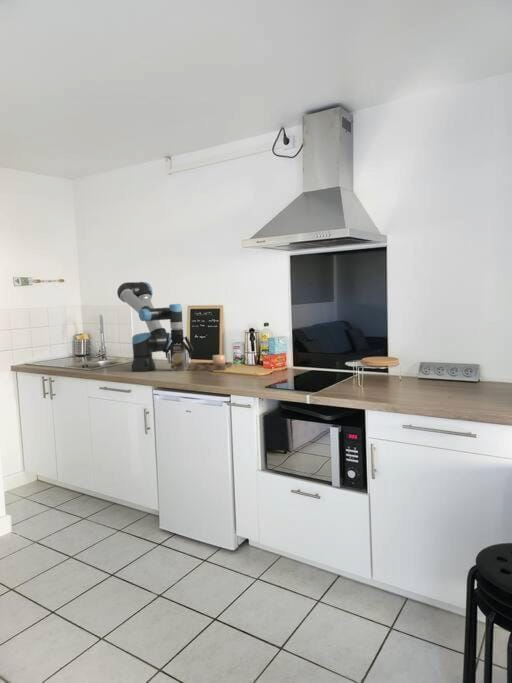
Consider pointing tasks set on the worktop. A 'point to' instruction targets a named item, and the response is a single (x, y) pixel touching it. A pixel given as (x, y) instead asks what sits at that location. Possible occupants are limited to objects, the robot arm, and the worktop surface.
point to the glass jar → (178, 357)
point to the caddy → (209, 366)
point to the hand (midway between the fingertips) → (179, 363)
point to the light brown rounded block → (218, 360)
